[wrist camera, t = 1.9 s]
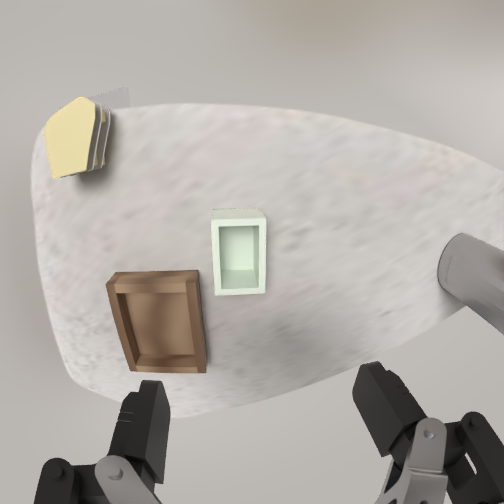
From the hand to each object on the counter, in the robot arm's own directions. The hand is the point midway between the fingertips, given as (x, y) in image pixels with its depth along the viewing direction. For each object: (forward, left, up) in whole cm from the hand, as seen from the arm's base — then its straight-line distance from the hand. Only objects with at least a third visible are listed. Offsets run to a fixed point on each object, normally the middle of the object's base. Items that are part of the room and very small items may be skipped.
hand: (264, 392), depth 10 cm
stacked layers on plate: (+15, -12, -21) cm, 28 cm away
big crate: (+9, +9, -20) cm, 24 cm away
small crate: (0, 0, -20) cm, 20 cm away
